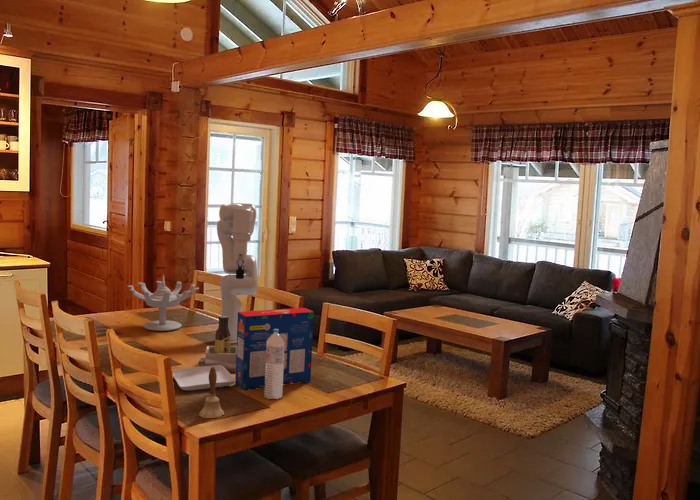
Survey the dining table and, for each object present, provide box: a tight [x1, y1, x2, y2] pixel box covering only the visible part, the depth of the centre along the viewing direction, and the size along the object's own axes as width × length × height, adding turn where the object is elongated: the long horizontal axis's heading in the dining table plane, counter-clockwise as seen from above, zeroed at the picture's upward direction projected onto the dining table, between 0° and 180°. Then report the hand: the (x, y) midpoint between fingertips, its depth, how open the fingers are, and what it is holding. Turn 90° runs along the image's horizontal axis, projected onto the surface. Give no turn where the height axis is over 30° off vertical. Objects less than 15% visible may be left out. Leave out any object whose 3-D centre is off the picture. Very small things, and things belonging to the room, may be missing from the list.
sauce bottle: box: [214, 315, 231, 353], centre depth 262 cm, size 7×6×20 cm
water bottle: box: [263, 329, 285, 400], centre depth 229 cm, size 7×7×25 cm
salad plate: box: [171, 365, 236, 391], centre depth 242 cm, size 21×21×3 cm
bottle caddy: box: [198, 345, 237, 374], centre depth 263 cm, size 18×18×7 cm
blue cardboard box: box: [234, 307, 315, 391], centre depth 244 cm, size 28×8×28 cm, turn 121°
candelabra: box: [127, 274, 200, 332], centre depth 320 cm, size 34×35×27 cm
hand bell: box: [198, 367, 225, 419], centre depth 210 cm, size 8×8×16 cm
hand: (239, 276), depth 273 cm, fingers open, 9 cm apart
